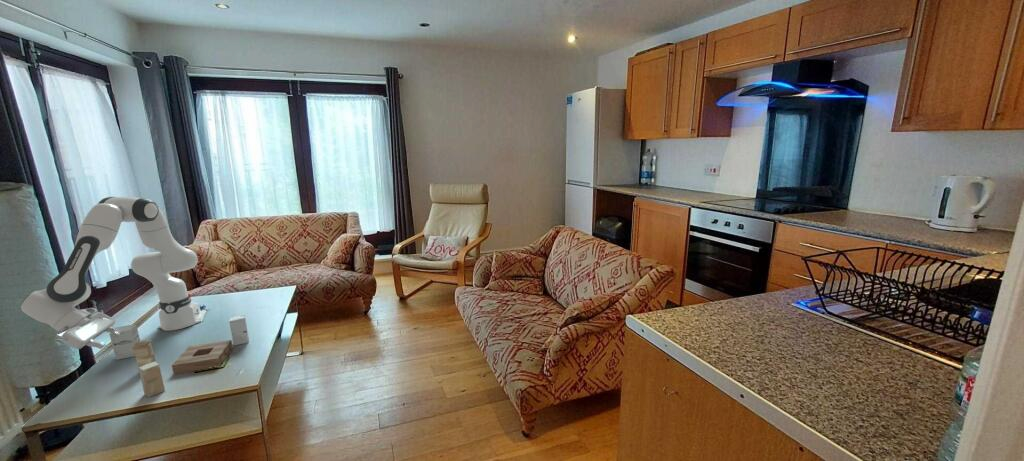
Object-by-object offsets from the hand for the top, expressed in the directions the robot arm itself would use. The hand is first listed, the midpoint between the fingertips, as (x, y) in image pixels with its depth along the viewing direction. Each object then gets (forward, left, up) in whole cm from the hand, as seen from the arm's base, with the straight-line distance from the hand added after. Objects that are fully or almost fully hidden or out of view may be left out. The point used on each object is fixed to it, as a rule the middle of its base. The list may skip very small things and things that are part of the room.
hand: (111, 341), depth 162 cm
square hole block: (0, +29, -15) cm, 33 cm away
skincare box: (-13, +39, -15) cm, 44 cm away
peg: (0, +9, -15) cm, 17 cm away
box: (+20, +20, -15) cm, 32 cm away
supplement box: (-18, -6, -15) cm, 24 cm away
